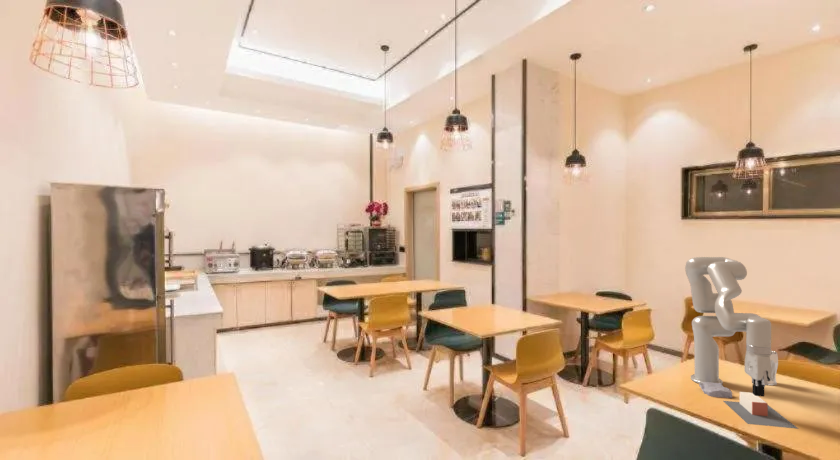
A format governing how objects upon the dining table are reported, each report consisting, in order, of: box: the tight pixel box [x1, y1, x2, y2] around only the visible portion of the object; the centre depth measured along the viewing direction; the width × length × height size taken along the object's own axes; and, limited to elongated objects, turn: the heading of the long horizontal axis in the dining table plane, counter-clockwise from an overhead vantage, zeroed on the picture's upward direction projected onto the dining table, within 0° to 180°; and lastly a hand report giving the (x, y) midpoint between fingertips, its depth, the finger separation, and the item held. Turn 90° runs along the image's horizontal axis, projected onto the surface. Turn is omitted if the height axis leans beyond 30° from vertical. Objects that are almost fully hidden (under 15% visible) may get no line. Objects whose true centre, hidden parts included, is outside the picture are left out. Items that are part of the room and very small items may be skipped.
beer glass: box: [767, 350, 779, 386], centre depth 189 cm, size 7×7×15 cm
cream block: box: [739, 391, 768, 416], centre depth 162 cm, size 5×5×10 cm
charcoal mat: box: [722, 400, 799, 430], centre depth 159 cm, size 20×16×1 cm
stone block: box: [698, 382, 733, 399], centre depth 179 cm, size 12×5×10 cm
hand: (758, 395), depth 158 cm, fingers closed
